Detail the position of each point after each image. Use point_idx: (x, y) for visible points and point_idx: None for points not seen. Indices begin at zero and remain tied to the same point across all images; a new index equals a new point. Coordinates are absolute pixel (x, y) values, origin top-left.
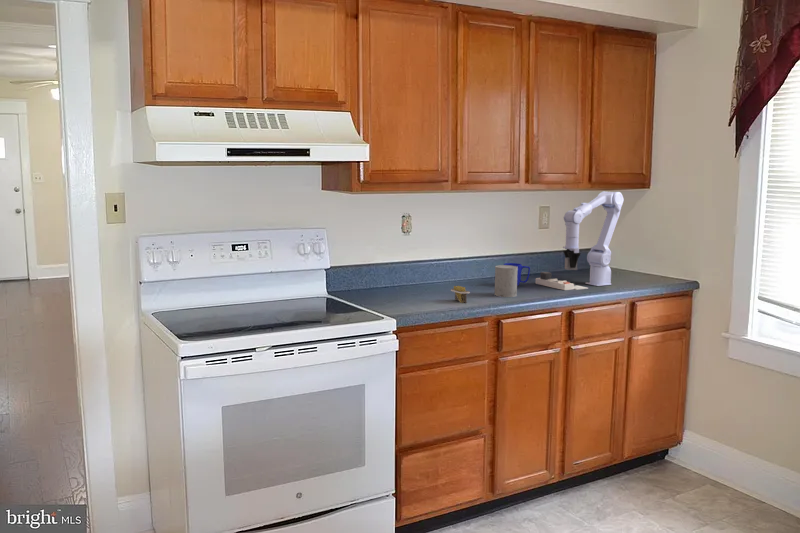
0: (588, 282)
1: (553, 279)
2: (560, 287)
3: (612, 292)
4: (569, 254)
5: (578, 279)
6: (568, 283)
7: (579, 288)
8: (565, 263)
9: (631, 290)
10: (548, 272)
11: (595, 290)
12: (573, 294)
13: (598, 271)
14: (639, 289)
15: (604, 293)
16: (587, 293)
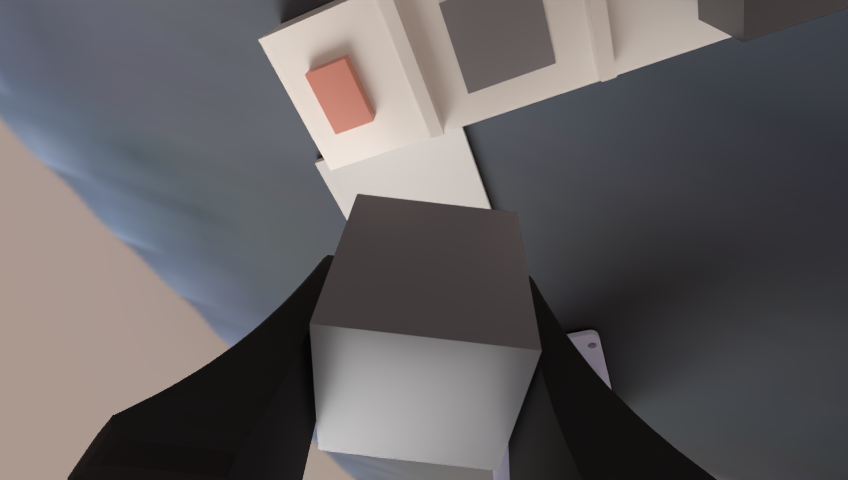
0: (597, 354)
1: (587, 9)
2: (335, 1)
3: (229, 342)
4: (111, 422)
5: (811, 360)
6: (330, 114)
7: (337, 195)
8: (475, 262)
9: (315, 438)
10: (823, 6)
11: (298, 282)
12: (34, 22)
13: (500, 466)
14: (348, 471)
15: (175, 288)
16: (139, 177)
